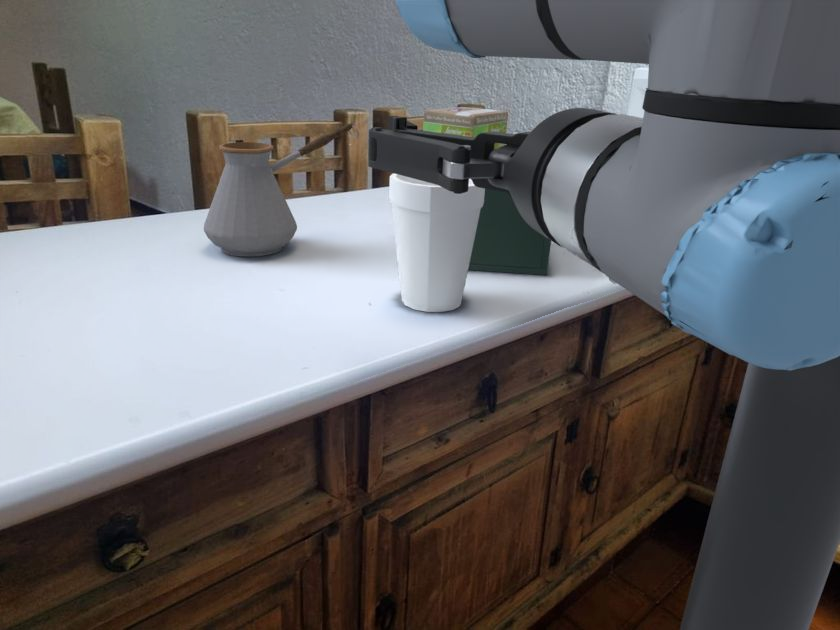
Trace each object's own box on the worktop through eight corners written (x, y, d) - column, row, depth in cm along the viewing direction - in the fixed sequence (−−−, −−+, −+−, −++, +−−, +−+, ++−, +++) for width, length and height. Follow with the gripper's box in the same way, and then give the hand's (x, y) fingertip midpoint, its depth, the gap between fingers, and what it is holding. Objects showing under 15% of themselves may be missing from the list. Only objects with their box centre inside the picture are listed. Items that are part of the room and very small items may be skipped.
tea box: (468, 204, 112) (474, 114, 107) (417, 196, 117) (420, 109, 111) (502, 190, 124) (509, 109, 119) (454, 183, 129) (459, 104, 123)
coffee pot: (226, 267, 77) (216, 135, 71) (192, 243, 85) (180, 123, 79) (378, 242, 89) (380, 128, 83) (335, 223, 97) (334, 118, 92)
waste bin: (537, 238, 94) (546, 162, 90) (546, 275, 79) (557, 185, 75) (422, 230, 95) (425, 155, 91) (409, 265, 80) (413, 177, 76)
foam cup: (470, 286, 74) (478, 170, 69) (482, 318, 66) (493, 188, 61) (386, 285, 73) (388, 167, 68) (387, 317, 65) (390, 185, 60)
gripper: (368, 263, 33) (321, 181, 52) (780, 248, 39) (603, 179, 58) (370, 108, 30) (319, 81, 49) (814, 118, 36) (617, 90, 55)
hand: (473, 134), depth 54 cm, fingers open, 13 cm apart
